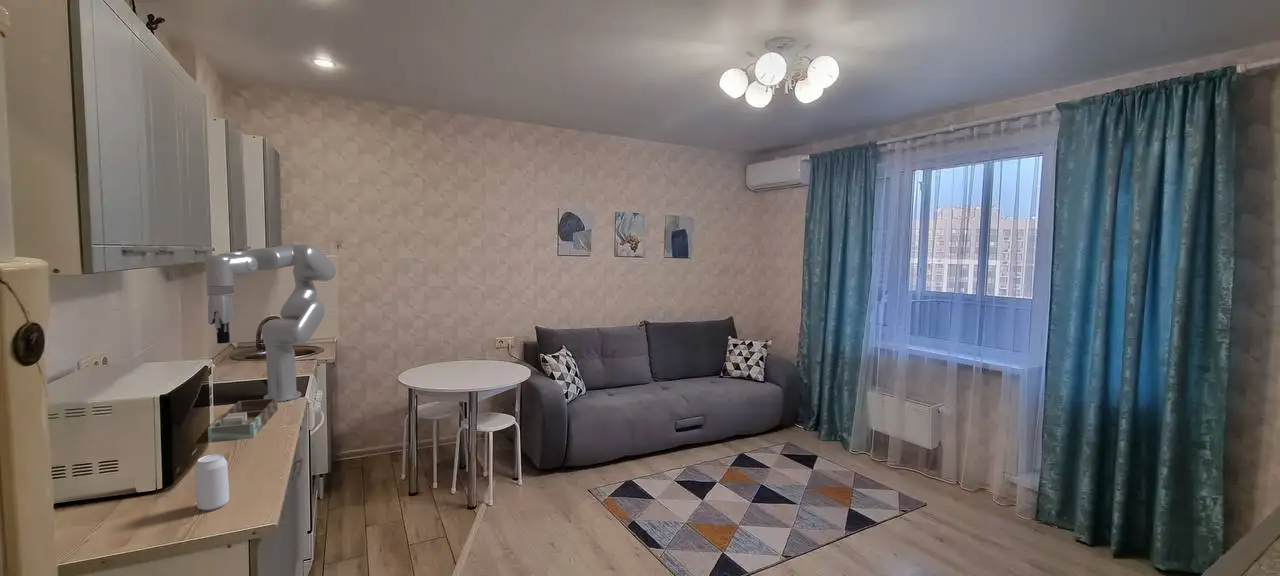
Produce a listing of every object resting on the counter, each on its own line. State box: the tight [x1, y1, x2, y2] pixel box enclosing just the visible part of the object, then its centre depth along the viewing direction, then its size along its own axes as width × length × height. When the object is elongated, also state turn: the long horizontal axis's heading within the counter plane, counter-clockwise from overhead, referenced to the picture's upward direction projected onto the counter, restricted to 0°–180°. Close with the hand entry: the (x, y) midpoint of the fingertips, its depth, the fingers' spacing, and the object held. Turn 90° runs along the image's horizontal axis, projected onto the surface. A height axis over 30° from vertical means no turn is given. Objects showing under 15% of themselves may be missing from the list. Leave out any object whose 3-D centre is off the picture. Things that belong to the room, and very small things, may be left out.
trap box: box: [207, 398, 279, 443], centre depth 187 cm, size 30×12×4 cm, turn 21°
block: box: [223, 412, 247, 426], centre depth 178 cm, size 5×5×4 cm
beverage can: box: [193, 453, 230, 511], centre depth 131 cm, size 6×6×12 cm
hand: (223, 342), depth 192 cm, fingers closed
